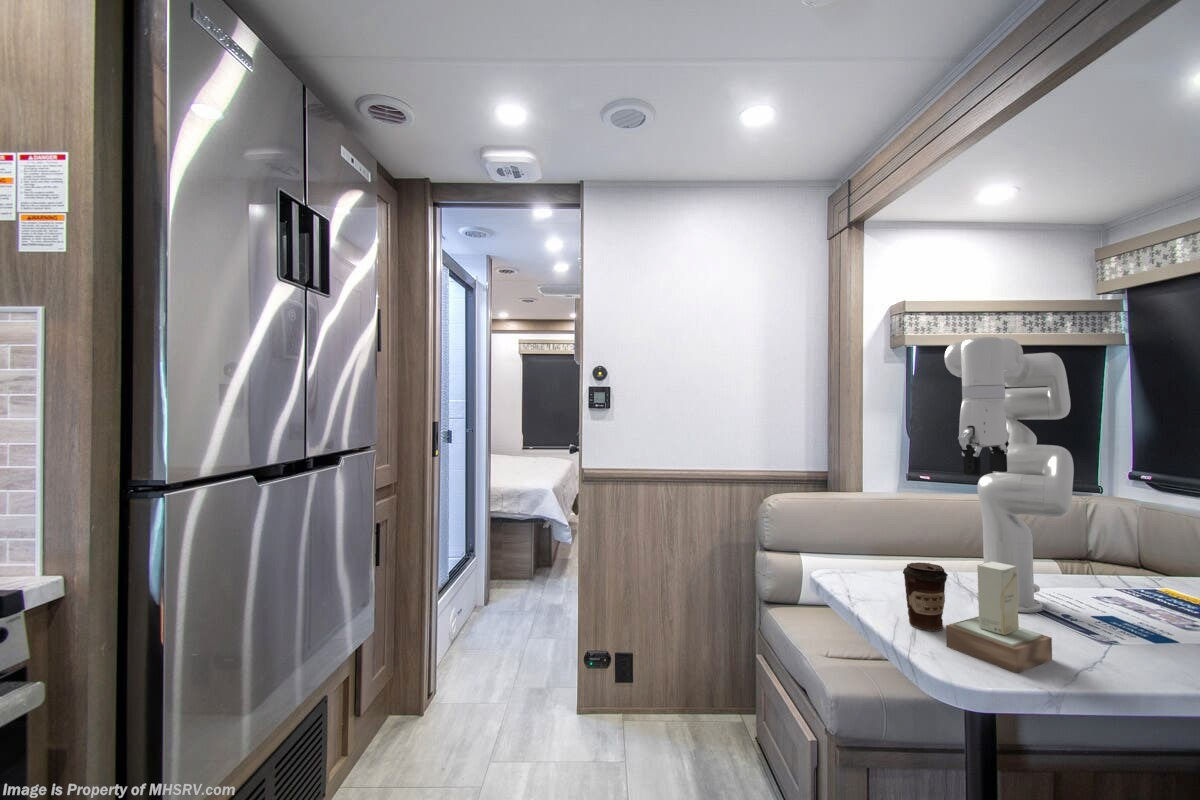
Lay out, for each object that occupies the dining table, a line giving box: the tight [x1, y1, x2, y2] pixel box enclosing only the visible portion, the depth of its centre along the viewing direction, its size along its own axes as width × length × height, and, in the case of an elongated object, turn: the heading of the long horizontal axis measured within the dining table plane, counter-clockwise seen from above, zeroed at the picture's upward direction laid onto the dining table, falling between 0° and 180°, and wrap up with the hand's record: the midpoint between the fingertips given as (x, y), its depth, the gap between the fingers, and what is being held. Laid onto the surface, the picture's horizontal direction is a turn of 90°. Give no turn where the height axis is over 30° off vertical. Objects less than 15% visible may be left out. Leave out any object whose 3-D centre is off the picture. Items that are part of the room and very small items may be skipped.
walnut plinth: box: [945, 615, 1053, 674], centre depth 100 cm, size 12×12×4 cm
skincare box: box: [976, 561, 1020, 635], centre depth 100 cm, size 6×4×12 cm
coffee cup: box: [902, 562, 949, 632], centre depth 113 cm, size 9×8×13 cm
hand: (985, 473), depth 113 cm, fingers open, 9 cm apart
